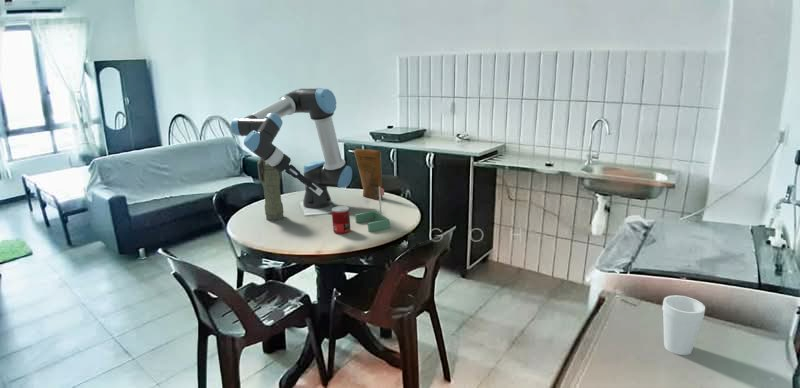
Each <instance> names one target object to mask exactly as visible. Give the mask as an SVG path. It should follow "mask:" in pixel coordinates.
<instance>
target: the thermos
mask: <svg viewBox="0 0 800 388" xmlns="http://www.w3.org/2000/svg"><path fill="white" fill-rule="evenodd" d="M259 158H260V157H259ZM256 166H257V174H258V181H260V182H261V185H262V187H263V194H264V202H265V203H264V213H265V216H266V217H265V218H266V221H270V220H274V221H279V220H282V219H284V217H285V216H284V212H285V211H284V204H283V201H282V197H281V178H282V177H283V176H282V175H283V174H282V172H283V171H282V172H278V171H277V170H276V169H274V168H273V166H271V165H269V164H266V162H265V161H264V160H263V159H261V158H260V159H259V160H258V162H257V164H256Z"/></svg>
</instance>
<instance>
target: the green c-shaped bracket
mask: <svg viewBox="0 0 800 388" xmlns="http://www.w3.org/2000/svg"><path fill="white" fill-rule="evenodd" d="M381 194H382V196H385V189H384V188H380V187H379V212H378V211H376V210H373V211H372V210H371V211H367V212H366V211H365V212H361V213H355V223H356V224H358V223H362V222H364V223H365V222H368V221H372V222H368V223H367V232H368V233H372V232H377V231H380V230H385V229H390V228H391V225H390V218H387V217H386V216H385V215H383V214H382V213H383V212H382V199H381Z"/></svg>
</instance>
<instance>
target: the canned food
mask: <svg viewBox="0 0 800 388" xmlns="http://www.w3.org/2000/svg"><path fill="white" fill-rule="evenodd" d="M331 217H332V219H331V220H332V229H333V230H332V231H333V233H335V234H338V235H343V234H348V233H350V231H351V219H350V218H351V217H350V208H349V206H346V205H345V206H343V205H337V206H335V207H332V208H331Z"/></svg>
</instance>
